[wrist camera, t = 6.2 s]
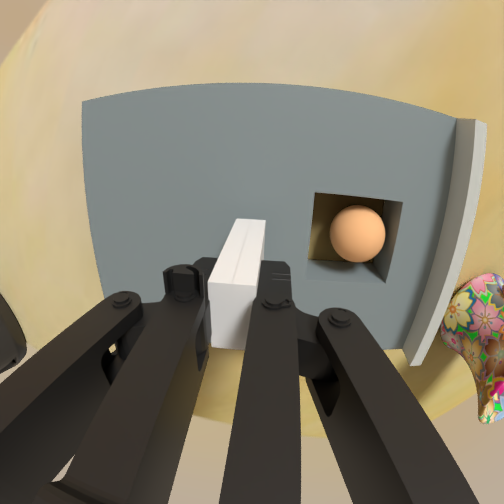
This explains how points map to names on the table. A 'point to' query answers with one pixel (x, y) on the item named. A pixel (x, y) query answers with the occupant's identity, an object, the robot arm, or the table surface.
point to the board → (285, 192)
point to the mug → (480, 339)
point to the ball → (357, 233)
